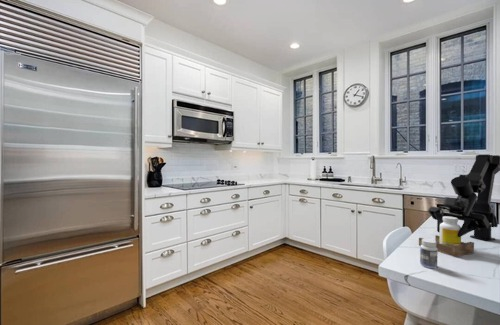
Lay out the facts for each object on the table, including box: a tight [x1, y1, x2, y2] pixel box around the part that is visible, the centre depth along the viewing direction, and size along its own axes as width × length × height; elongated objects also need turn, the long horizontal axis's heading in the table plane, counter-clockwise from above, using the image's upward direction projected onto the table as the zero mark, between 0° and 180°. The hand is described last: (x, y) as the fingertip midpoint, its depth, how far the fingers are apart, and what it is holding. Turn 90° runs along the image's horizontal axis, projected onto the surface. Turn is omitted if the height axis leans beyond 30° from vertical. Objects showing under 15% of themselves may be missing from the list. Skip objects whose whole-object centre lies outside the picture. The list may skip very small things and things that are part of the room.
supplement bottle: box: [438, 216, 462, 247], centre depth 99 cm, size 7×7×13 cm
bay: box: [418, 234, 475, 258], centre depth 101 cm, size 11×14×4 cm
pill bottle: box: [419, 238, 439, 269], centre depth 85 cm, size 5×5×8 cm
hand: (447, 233), depth 99 cm, fingers closed on supplement bottle, 7 cm apart
